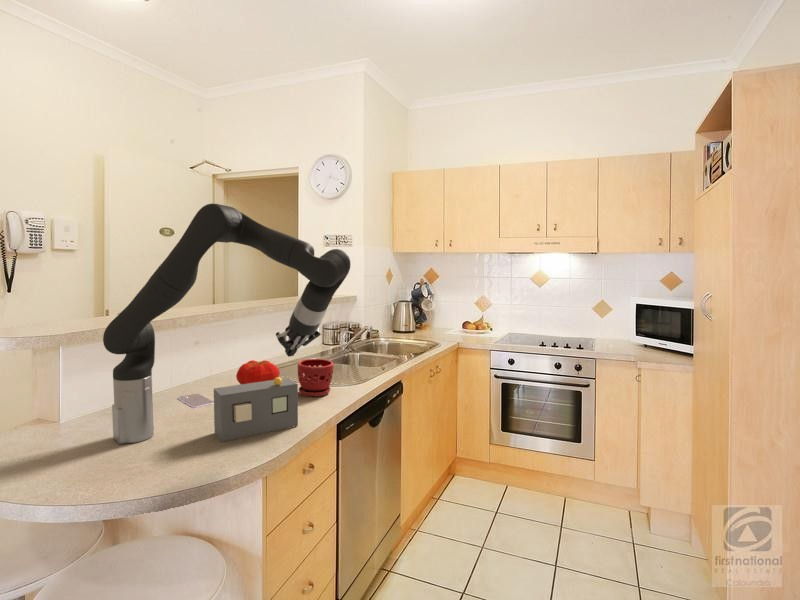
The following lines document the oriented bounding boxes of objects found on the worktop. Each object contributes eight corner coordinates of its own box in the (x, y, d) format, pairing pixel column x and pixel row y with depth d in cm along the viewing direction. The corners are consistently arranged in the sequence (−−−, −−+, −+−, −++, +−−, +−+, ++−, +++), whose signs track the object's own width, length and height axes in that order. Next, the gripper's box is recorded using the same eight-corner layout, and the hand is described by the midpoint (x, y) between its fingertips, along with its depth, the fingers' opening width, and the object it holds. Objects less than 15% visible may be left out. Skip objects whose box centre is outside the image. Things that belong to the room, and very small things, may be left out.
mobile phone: (193, 406, 153) (176, 396, 163) (193, 409, 153) (176, 399, 163) (215, 401, 158) (198, 392, 169) (216, 404, 158) (198, 395, 169)
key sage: (286, 410, 136) (286, 396, 135) (272, 412, 133) (272, 398, 133) (281, 406, 139) (281, 393, 139) (268, 409, 137) (267, 395, 136)
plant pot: (297, 399, 164) (297, 366, 163) (297, 389, 176) (297, 358, 175) (334, 397, 167) (334, 365, 166) (331, 387, 179) (332, 357, 178)
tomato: (286, 386, 181) (286, 361, 180) (247, 394, 169) (246, 368, 168) (268, 379, 191) (268, 356, 190) (230, 386, 179) (229, 361, 178)
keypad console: (297, 426, 138) (297, 375, 137) (221, 441, 125) (220, 386, 124) (287, 418, 144) (287, 370, 143) (214, 432, 132) (213, 380, 130)
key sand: (251, 419, 128) (251, 404, 127) (236, 422, 125) (236, 407, 125) (247, 415, 131) (247, 401, 130) (232, 418, 128) (231, 403, 128)
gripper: (325, 300, 124) (305, 340, 134) (279, 305, 115) (262, 346, 125) (336, 321, 120) (315, 360, 130) (290, 327, 111) (271, 369, 122)
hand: (289, 353), depth 128 cm, fingers closed
